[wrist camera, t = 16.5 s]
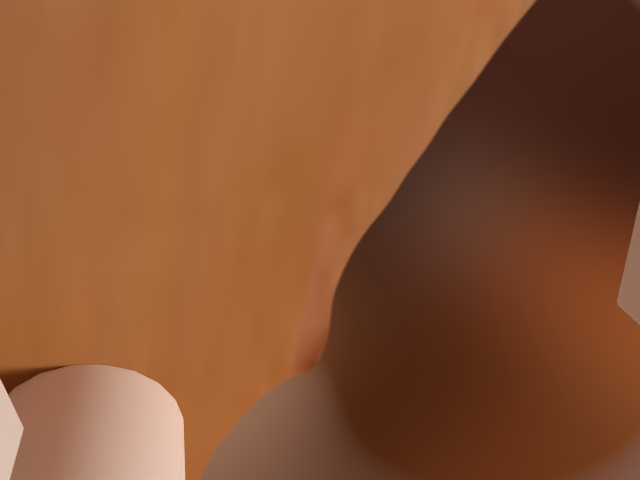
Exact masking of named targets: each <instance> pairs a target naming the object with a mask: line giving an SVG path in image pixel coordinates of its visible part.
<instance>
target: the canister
mask: <svg viewBox="0 0 640 480" xmlns="http://www.w3.org/2000/svg"><path fill="white" fill-rule="evenodd" d="M8 396H9V398H10V400H11V402H12V404H13V406H14V408H15V410H16V413H17V415H18V417H19V419H20V421H21V423H22V425H23V427H24V429H23V433H22V436H21V440H20V444H19V447H18V451H17V455H16V458H15V462H14V466H13V469H12V473H11V477H10V480H185V460H184V423H183V417H182V414H181V412H180V409H179V407H178V404H177V402H176V400H175V399H174V398H173V397H172V396H171V395H170V394H169V393H168V392H167V391H166V390H165V389H164V388H163V387H162V386H161V385H160V384H159V383H158V382H156V381H154V380H152V379H150V378H148V377H146V376H144V375H142V374H140V373H138V372H136V371H134V370H130V369H125V368H120V367H115V366H111V365H106V364H90V365H69V366H66V367H62V368H58V369H54V370H50V371H47V372H43V373H40V374H38V375H36V376H34V377H33V378H31V379H29V380H27V381H26V382H24V383H22V384H20V385H18V386H17V387H15V388H14V389H13V390H12V391H11V392H10V393H9V394H8Z"/></svg>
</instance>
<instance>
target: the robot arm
mask: <svg viewBox="0 0 640 480" xmlns="http://www.w3.org/2000/svg"><path fill="white" fill-rule="evenodd" d="M617 305H618V306H619V307H621V308H622V309H623V310H624V311H625V312H626V313H627V314H628V315H629V316H630V317H631V318H633V319H634V320H635V321H636V322H637V323H638V324H639V325H640V203H639V208H638V212H637V216H636V221H635V225H634V229H633V234H632V238H631V242H630V247H629V251H628V255H627V260H626V264H625V268H624V273H623V277H622V282H621V286H620V290H619V295H618V299H617ZM23 429H24V427H23V425H22V423H21V421H20V419H19V417H18V415H17V413H16V410H15V408H14V406H13V404H12V402H11V400H10V398H9V396H8V394H7V392H6V390H5V388H4V385H3V383H2V381H1V379H0V480H10V477H11V473H12V469H13V466H14V462H15V458H16V455H17V451H18V447H19V444H20V440H21V436H22V433H23Z"/></svg>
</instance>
